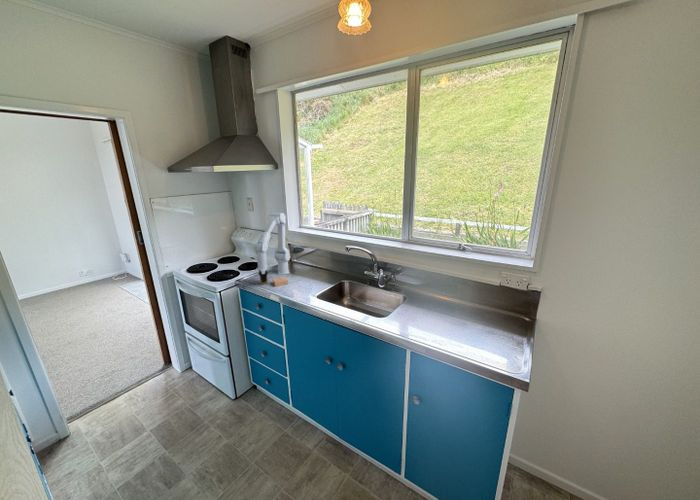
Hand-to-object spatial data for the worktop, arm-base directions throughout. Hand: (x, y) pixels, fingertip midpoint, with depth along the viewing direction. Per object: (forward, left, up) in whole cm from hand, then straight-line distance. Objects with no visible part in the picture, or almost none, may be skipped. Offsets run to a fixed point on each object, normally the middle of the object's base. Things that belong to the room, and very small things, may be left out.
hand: (263, 280), depth 184 cm
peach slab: (+4, +10, -2) cm, 11 cm away
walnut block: (0, 0, -1) cm, 1 cm away
